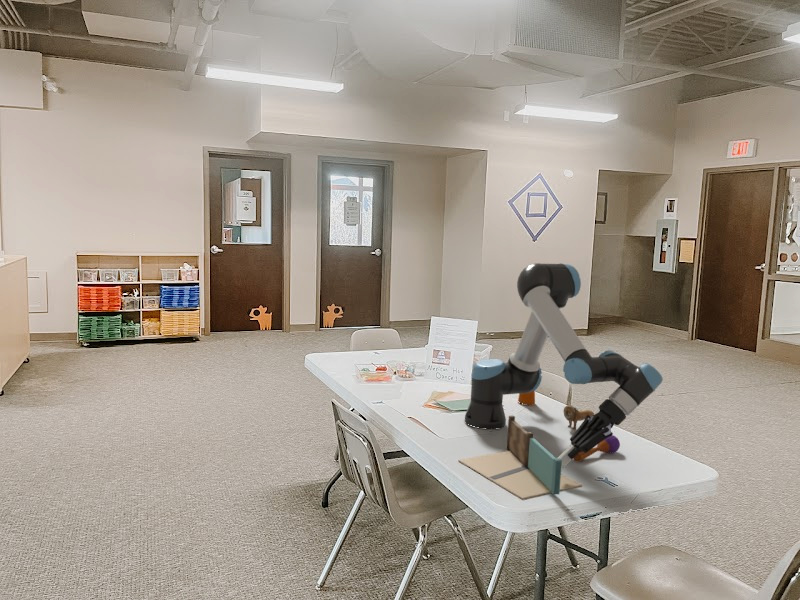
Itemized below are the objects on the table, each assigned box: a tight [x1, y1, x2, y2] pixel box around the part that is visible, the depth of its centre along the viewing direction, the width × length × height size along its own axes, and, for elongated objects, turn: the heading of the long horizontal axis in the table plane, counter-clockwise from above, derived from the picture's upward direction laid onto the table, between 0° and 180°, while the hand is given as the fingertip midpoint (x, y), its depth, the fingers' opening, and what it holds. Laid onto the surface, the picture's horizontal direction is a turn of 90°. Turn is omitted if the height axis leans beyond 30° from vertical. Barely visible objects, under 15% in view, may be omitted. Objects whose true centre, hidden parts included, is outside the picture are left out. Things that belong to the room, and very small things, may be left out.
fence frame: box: [506, 415, 535, 468], centre depth 201 cm, size 18×2×11 cm, turn 10°
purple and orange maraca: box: [572, 434, 621, 463], centre depth 207 cm, size 6×6×20 cm
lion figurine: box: [563, 404, 595, 431], centre depth 235 cm, size 15×5×9 cm, turn 110°
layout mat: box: [457, 450, 583, 500], centre depth 189 cm, size 30×22×1 cm
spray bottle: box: [517, 341, 536, 406], centre depth 263 cm, size 7×11×26 cm, turn 111°
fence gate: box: [528, 437, 563, 495], centre depth 181 cm, size 20×2×10 cm, turn 10°
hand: (559, 463), depth 185 cm, fingers closed
